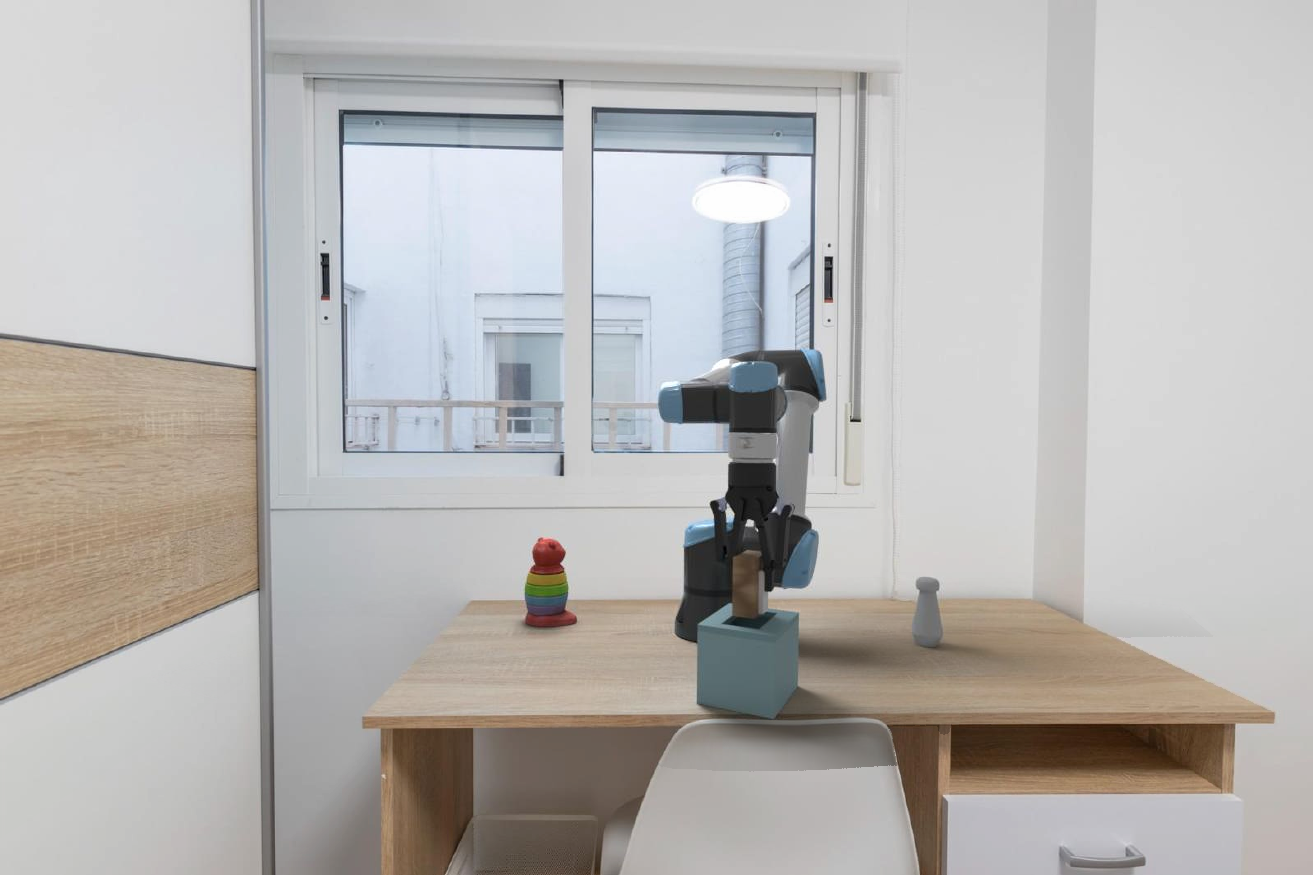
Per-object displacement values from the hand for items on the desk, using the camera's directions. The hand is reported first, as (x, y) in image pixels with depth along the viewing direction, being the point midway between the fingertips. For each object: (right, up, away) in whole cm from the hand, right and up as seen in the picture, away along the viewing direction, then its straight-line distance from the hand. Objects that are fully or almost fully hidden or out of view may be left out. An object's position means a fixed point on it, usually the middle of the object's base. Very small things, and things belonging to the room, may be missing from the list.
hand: (750, 609), depth 103 cm
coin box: (0, -13, 0) cm, 13 cm away
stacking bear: (-38, -13, +39) cm, 56 cm away
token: (0, 0, 0) cm, 0 cm away
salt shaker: (+38, -14, +26) cm, 49 cm away
